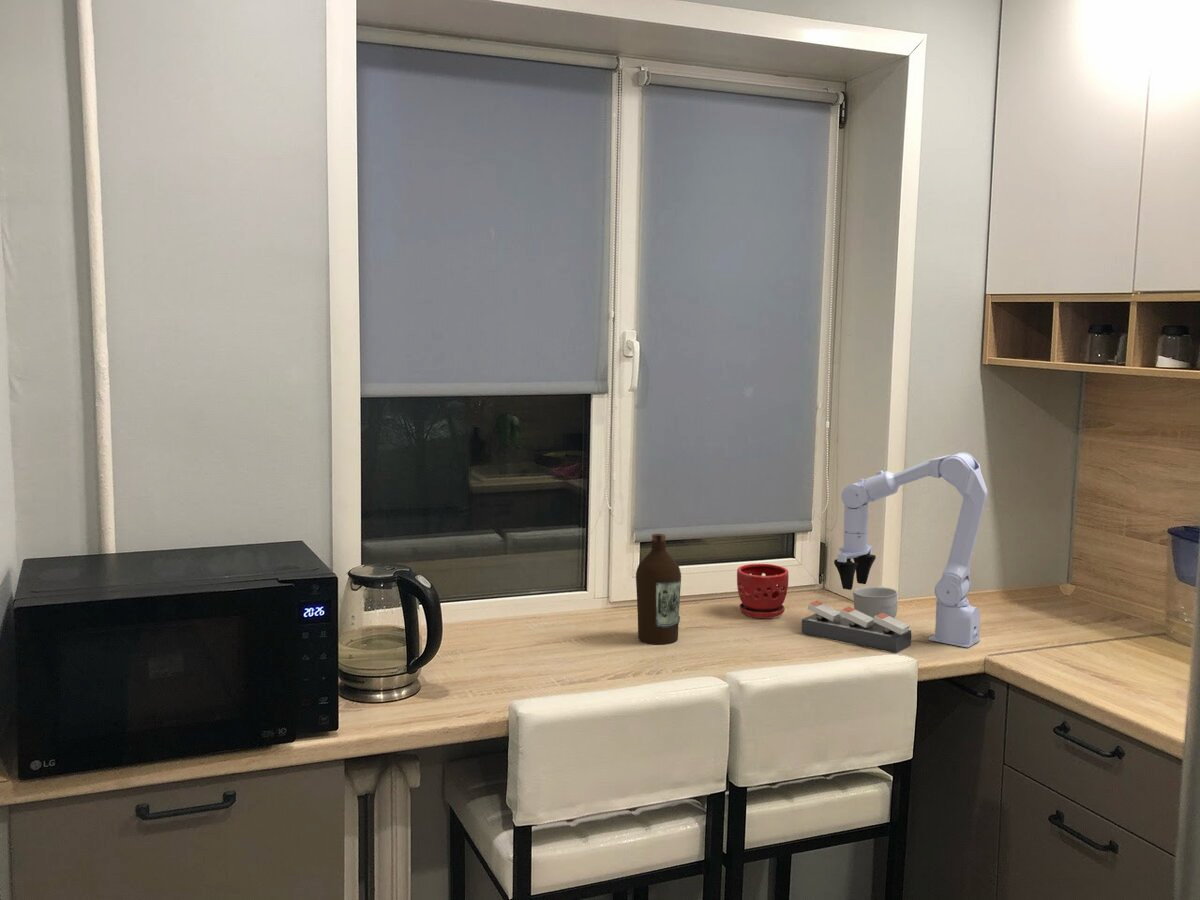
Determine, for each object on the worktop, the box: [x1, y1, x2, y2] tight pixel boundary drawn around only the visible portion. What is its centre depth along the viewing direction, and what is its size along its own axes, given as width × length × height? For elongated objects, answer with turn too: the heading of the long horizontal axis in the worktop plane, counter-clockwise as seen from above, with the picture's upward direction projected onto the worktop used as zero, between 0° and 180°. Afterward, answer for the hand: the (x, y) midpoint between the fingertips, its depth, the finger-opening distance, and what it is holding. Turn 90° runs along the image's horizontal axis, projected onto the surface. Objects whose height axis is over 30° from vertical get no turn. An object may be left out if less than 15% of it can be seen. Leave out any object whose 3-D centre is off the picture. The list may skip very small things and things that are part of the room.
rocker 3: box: [873, 613, 910, 635], centre depth 233 cm, size 7×4×2 cm, turn 50°
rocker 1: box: [807, 600, 842, 621], centre depth 244 cm, size 7×4×2 cm, turn 50°
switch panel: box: [801, 613, 912, 654], centre depth 239 cm, size 24×8×5 cm, turn 49°
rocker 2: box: [839, 606, 874, 628], centre depth 238 cm, size 7×4×2 cm, turn 50°
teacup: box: [852, 585, 899, 624], centre depth 255 cm, size 14×11×8 cm
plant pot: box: [736, 563, 789, 619], centre depth 260 cm, size 13×13×12 cm
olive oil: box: [635, 533, 682, 645], centre depth 238 cm, size 11×11×25 cm
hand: (854, 586), depth 249 cm, fingers open, 7 cm apart
